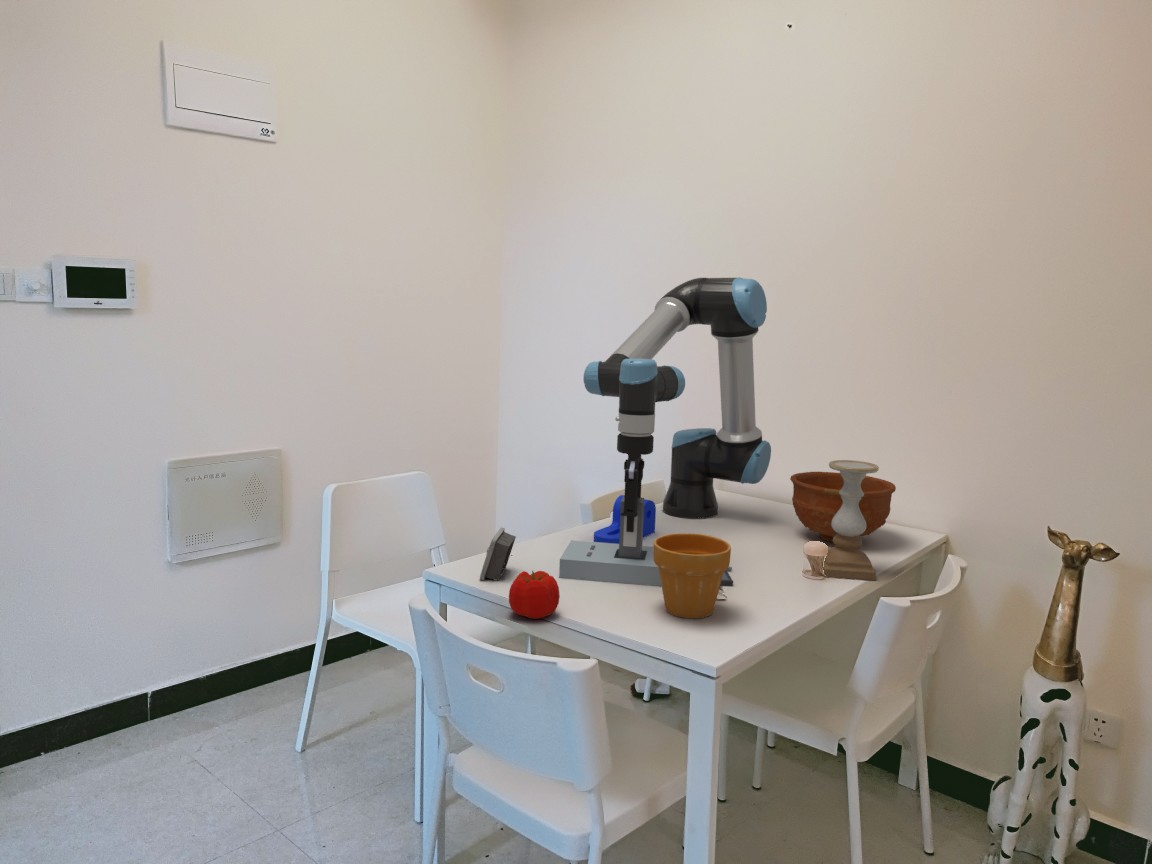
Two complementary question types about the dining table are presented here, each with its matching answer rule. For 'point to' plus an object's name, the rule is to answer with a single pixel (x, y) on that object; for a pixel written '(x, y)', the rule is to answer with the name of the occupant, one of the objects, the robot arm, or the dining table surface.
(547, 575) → the tomato
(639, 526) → the plug
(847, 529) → the candle holder
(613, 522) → the bracket
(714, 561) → the flower pot
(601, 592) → the dining table surface
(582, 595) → the dining table surface
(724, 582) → the phone
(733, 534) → the dining table surface
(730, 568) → the usb cable
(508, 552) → the electrical switch
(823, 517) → the bowl
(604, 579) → the plate
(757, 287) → the robot arm
